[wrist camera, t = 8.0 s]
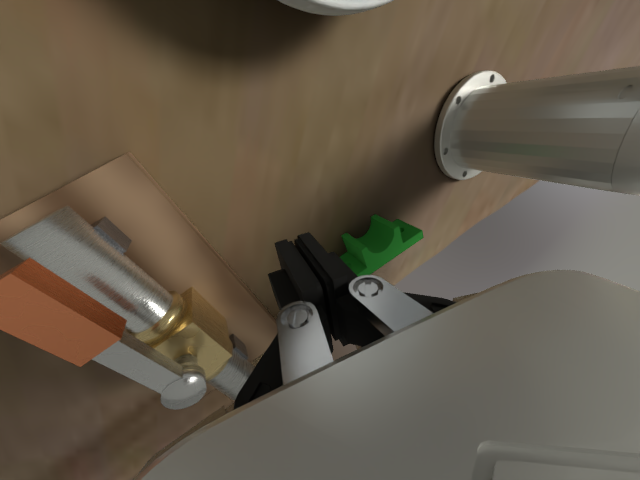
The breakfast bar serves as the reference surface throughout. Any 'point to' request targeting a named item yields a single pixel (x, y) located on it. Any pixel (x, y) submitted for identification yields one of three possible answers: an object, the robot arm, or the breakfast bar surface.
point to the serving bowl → (335, 6)
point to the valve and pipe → (135, 294)
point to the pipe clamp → (378, 244)
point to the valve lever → (90, 333)
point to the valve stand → (154, 244)
